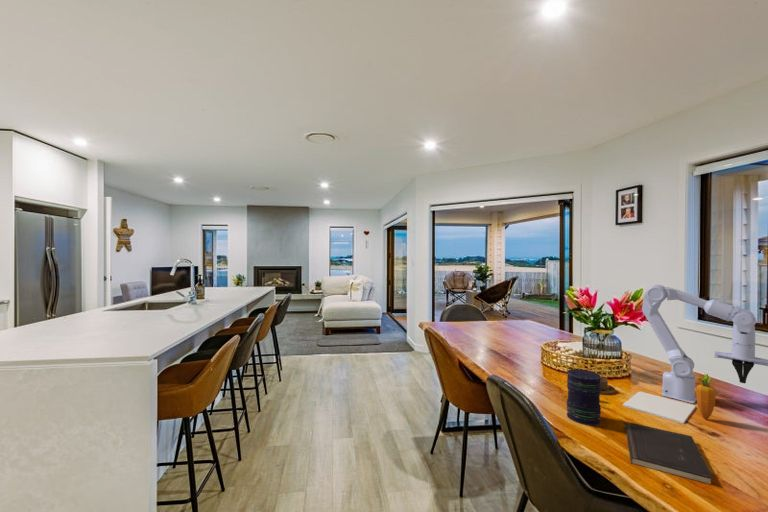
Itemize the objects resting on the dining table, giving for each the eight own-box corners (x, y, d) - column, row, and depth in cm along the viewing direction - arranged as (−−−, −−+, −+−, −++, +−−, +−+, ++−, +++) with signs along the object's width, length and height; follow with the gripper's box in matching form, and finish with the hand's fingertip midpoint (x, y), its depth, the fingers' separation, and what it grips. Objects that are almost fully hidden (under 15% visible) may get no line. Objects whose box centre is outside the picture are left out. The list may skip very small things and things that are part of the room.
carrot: (709, 423, 113) (709, 378, 113) (691, 417, 118) (692, 373, 118) (719, 422, 114) (720, 376, 114) (702, 415, 119) (703, 371, 119)
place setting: (629, 397, 136) (629, 382, 136) (591, 403, 129) (591, 388, 129) (589, 381, 152) (590, 368, 152) (554, 386, 146) (554, 372, 146)
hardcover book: (691, 443, 102) (691, 436, 102) (713, 487, 82) (713, 478, 82) (625, 428, 110) (625, 421, 110) (630, 465, 91) (630, 456, 91)
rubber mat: (622, 405, 126) (622, 404, 126) (639, 392, 139) (639, 391, 139) (683, 423, 113) (683, 422, 113) (695, 407, 126) (695, 405, 126)
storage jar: (600, 416, 118) (600, 363, 118) (601, 428, 109) (601, 371, 109) (567, 409, 123) (567, 358, 123) (565, 420, 114) (566, 366, 114)
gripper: (774, 346, 119) (774, 385, 119) (716, 338, 131) (716, 374, 131) (773, 349, 115) (773, 390, 115) (713, 341, 126) (713, 378, 126)
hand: (742, 382), depth 122 cm, fingers closed
